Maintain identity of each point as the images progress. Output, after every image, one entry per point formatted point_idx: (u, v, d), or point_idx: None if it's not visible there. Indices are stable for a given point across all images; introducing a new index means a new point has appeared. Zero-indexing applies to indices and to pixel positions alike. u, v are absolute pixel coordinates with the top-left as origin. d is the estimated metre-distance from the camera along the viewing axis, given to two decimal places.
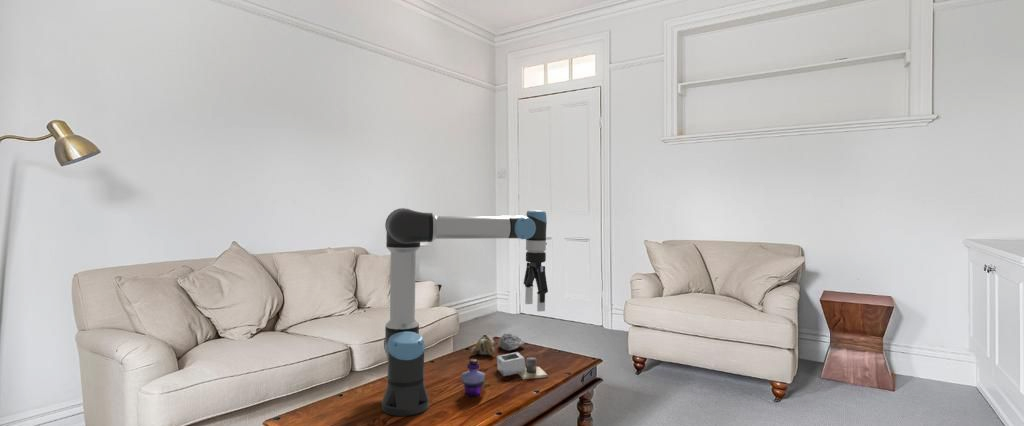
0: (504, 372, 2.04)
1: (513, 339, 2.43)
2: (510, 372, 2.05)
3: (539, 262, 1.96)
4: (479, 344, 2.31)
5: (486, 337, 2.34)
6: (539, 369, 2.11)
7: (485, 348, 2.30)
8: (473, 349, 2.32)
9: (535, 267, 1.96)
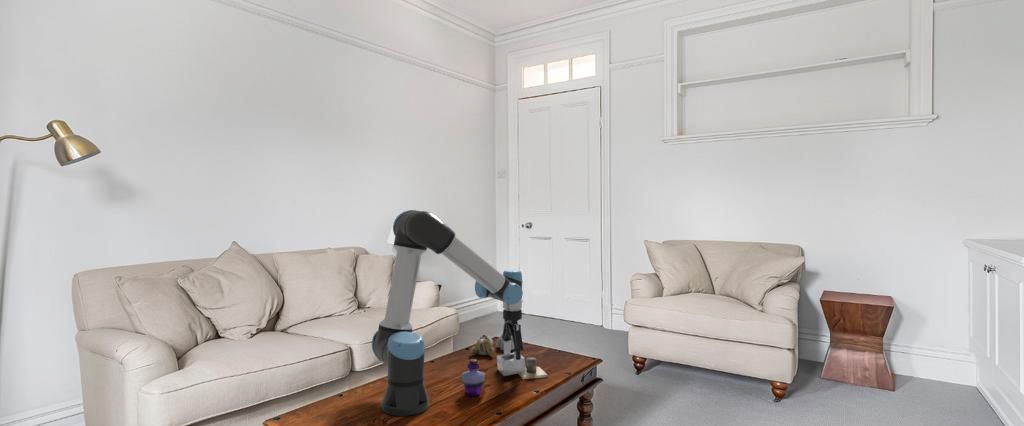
0: (504, 372, 2.04)
1: (511, 339, 2.42)
2: (510, 372, 2.05)
3: (515, 320, 2.06)
4: (478, 344, 2.31)
5: (485, 337, 2.34)
6: (539, 369, 2.11)
7: (485, 348, 2.30)
8: (472, 349, 2.32)
9: (511, 325, 2.06)
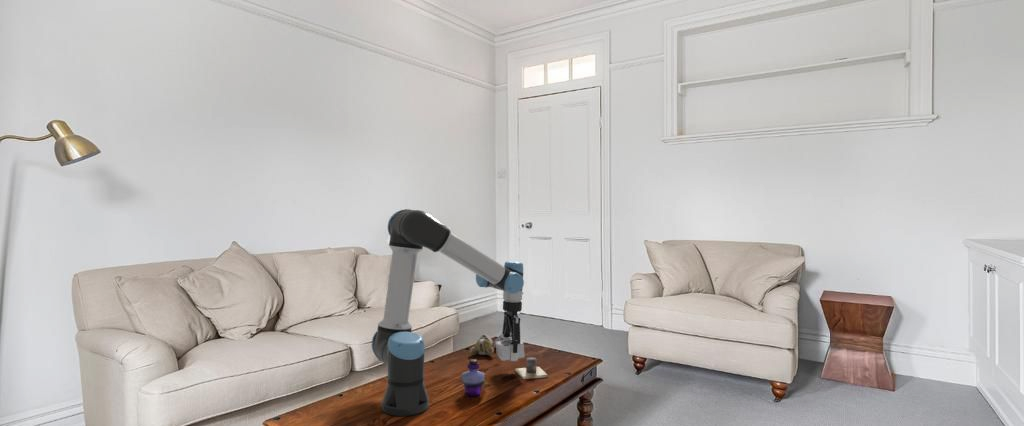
0: (503, 357, 2.04)
1: None
2: (509, 357, 2.05)
3: (515, 311, 2.06)
4: (478, 344, 2.30)
5: (485, 337, 2.34)
6: (539, 369, 2.11)
7: (484, 348, 2.30)
8: (472, 349, 2.31)
9: (511, 316, 2.06)
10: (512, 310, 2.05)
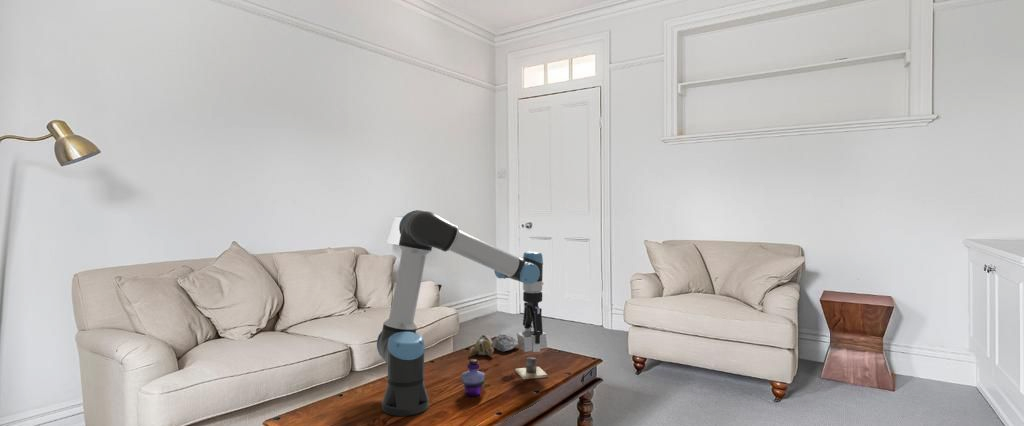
0: (525, 348, 2.02)
1: (508, 340, 2.41)
2: (531, 348, 2.03)
3: (536, 302, 2.04)
4: (478, 344, 2.30)
5: (485, 337, 2.33)
6: (539, 369, 2.11)
7: (484, 348, 2.30)
8: (472, 349, 2.31)
9: (532, 307, 2.04)
10: (533, 301, 2.04)
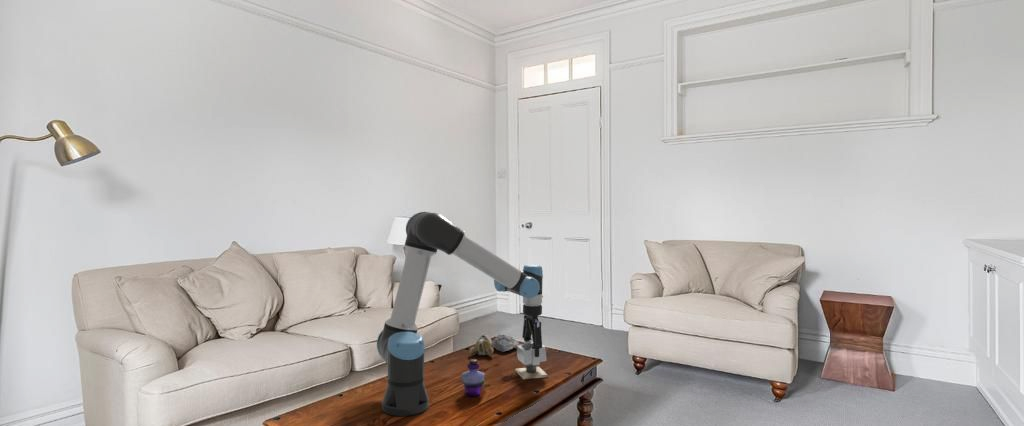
0: (525, 361, 2.03)
1: (507, 340, 2.41)
2: (531, 361, 2.03)
3: (535, 315, 2.04)
4: (478, 344, 2.30)
5: (485, 337, 2.33)
6: (539, 369, 2.11)
7: (484, 348, 2.29)
8: (472, 350, 2.31)
9: (532, 320, 2.04)
10: (533, 314, 2.04)
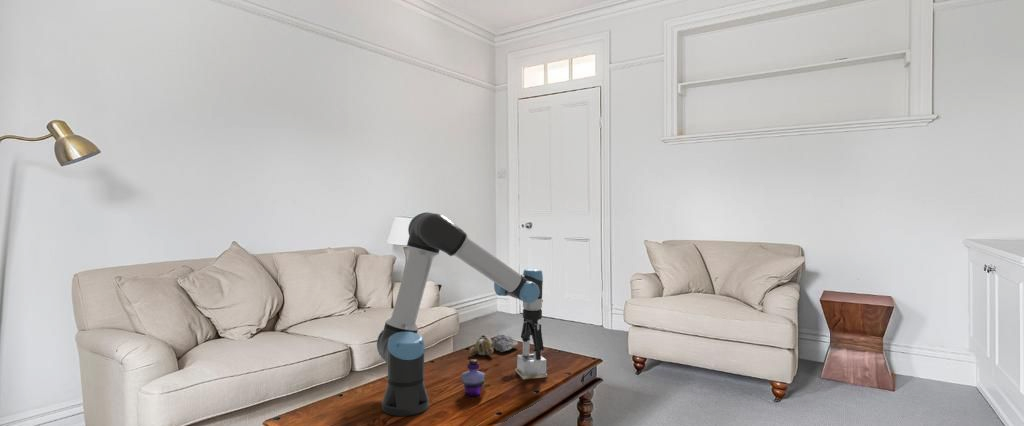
0: (525, 372, 2.03)
1: (507, 340, 2.41)
2: (531, 372, 2.04)
3: (535, 320, 2.04)
4: (478, 344, 2.30)
5: (484, 337, 2.33)
6: None
7: (484, 348, 2.29)
8: (472, 350, 2.31)
9: (532, 324, 2.05)
10: (532, 318, 2.04)
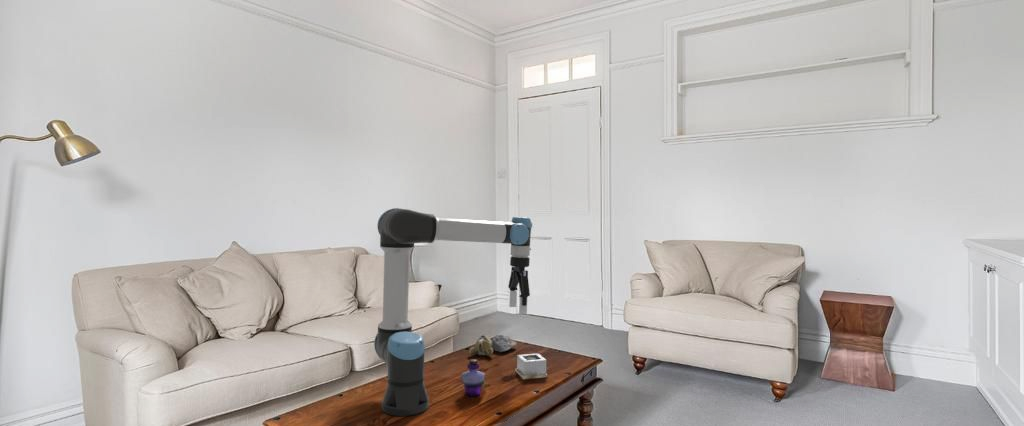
0: (525, 372, 2.03)
1: (505, 340, 2.40)
2: (531, 372, 2.04)
3: (522, 266, 2.04)
4: (477, 345, 2.30)
5: (484, 338, 2.33)
6: None
7: (484, 348, 2.29)
8: (471, 350, 2.31)
9: (519, 271, 2.04)
10: (519, 265, 2.03)
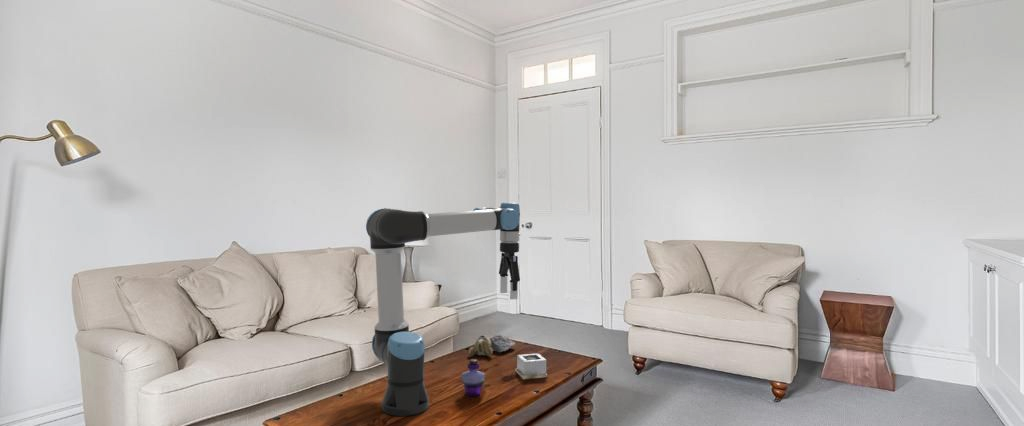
0: (525, 372, 2.03)
1: (504, 340, 2.40)
2: (531, 372, 2.04)
3: (512, 252, 2.04)
4: (477, 345, 2.30)
5: (484, 338, 2.33)
6: None
7: (483, 348, 2.29)
8: (471, 350, 2.30)
9: (508, 257, 2.04)
10: (509, 251, 2.03)
